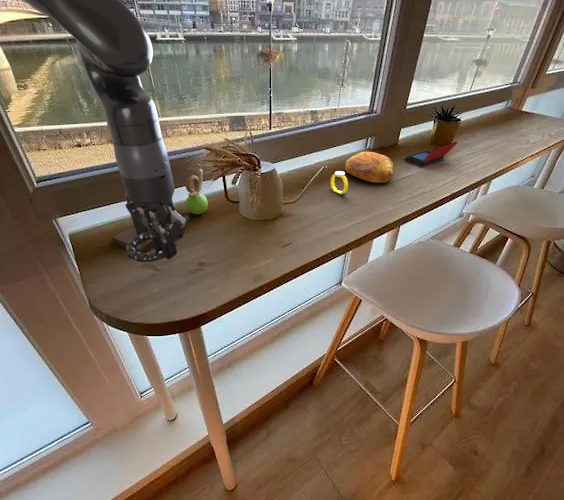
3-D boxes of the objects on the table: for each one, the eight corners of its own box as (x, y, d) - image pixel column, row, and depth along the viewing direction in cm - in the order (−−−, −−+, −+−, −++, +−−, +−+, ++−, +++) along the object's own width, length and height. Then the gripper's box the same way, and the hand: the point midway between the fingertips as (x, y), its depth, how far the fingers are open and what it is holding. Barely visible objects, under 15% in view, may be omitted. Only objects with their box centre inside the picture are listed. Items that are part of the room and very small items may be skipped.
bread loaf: (372, 194, 98) (379, 171, 92) (335, 171, 106) (340, 149, 100) (401, 180, 105) (409, 158, 99) (364, 160, 113) (370, 138, 107)
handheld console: (425, 153, 120) (431, 133, 115) (451, 162, 113) (458, 141, 108) (402, 160, 114) (407, 139, 110) (429, 170, 107) (435, 148, 103)
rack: (141, 254, 70) (125, 208, 63) (113, 242, 74) (96, 197, 67) (171, 234, 76) (160, 190, 70) (145, 224, 80) (132, 181, 73)
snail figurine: (215, 208, 86) (209, 165, 79) (201, 220, 82) (193, 175, 75) (198, 204, 88) (191, 162, 81) (183, 215, 84) (174, 171, 76)
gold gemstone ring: (348, 194, 93) (351, 175, 89) (341, 197, 92) (344, 177, 88) (334, 187, 97) (336, 168, 93) (327, 189, 96) (329, 170, 92)
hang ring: (151, 269, 58) (149, 262, 57) (117, 253, 61) (114, 247, 60) (187, 244, 64) (186, 237, 63) (154, 231, 68) (152, 224, 67)
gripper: (95, 166, 51) (126, 253, 61) (157, 185, 46) (179, 278, 56) (134, 152, 56) (156, 235, 67) (194, 168, 51) (208, 255, 61)
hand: (167, 254), depth 61 cm, fingers closed on hang ring, 1 cm apart
